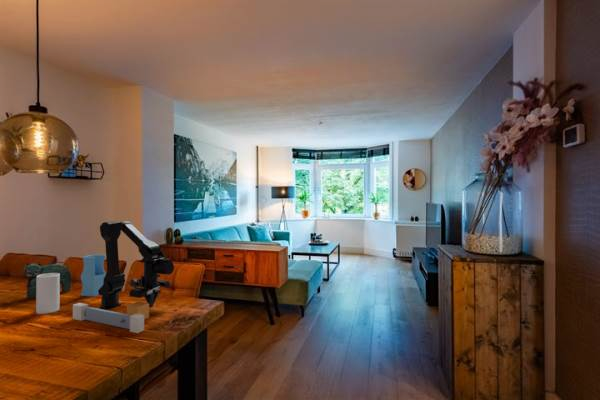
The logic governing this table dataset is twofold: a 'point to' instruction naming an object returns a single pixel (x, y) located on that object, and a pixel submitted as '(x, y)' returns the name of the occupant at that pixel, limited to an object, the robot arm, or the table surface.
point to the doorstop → (138, 309)
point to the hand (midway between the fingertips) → (150, 307)
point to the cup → (47, 293)
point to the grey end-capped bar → (107, 317)
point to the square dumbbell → (135, 319)
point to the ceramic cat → (36, 270)
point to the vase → (92, 274)
